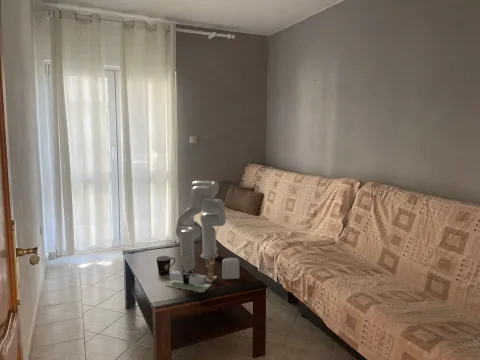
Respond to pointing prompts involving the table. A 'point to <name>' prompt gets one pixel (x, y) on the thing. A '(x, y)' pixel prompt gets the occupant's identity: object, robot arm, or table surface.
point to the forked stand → (210, 269)
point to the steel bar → (192, 277)
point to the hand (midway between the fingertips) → (188, 282)
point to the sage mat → (188, 286)
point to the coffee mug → (164, 265)
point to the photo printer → (230, 268)
